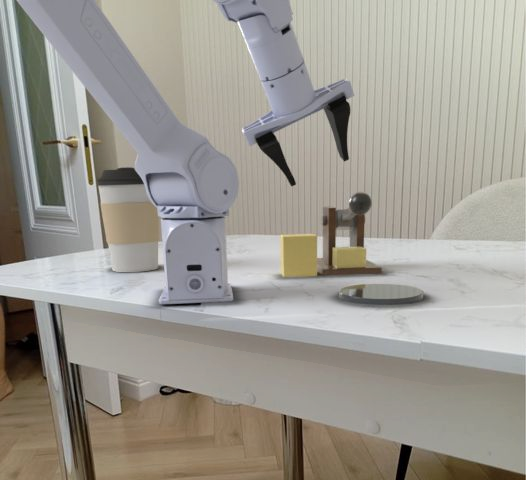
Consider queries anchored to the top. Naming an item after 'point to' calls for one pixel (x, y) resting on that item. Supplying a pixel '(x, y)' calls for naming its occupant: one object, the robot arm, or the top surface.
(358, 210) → the ball knob lever
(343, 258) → the butter block
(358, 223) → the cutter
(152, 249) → the coffee cup
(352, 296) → the plate
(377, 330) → the top surface
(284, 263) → the butter portion
